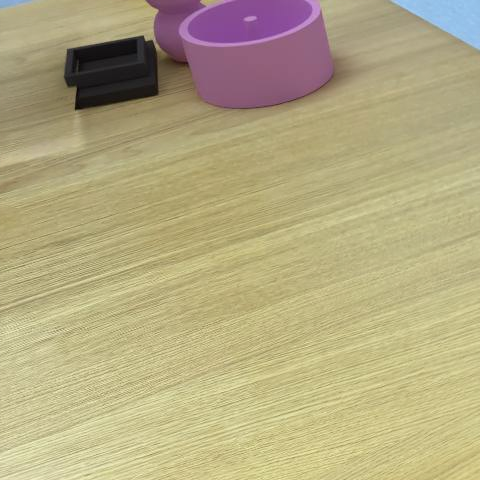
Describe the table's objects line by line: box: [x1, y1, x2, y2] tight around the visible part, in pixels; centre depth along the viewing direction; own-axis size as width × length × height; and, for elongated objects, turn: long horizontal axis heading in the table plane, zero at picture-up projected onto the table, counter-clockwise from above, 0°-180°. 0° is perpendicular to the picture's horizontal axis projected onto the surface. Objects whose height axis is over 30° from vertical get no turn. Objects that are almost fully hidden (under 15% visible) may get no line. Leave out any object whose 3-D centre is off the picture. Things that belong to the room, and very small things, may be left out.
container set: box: [144, 0, 335, 109], centre depth 115 cm, size 25×15×13 cm, turn 49°
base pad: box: [63, 34, 160, 111], centre depth 120 cm, size 10×14×3 cm
